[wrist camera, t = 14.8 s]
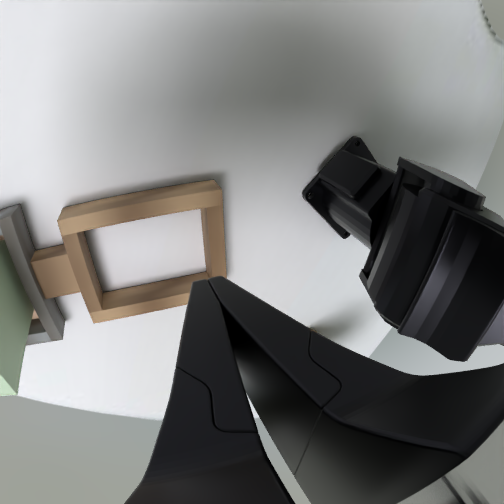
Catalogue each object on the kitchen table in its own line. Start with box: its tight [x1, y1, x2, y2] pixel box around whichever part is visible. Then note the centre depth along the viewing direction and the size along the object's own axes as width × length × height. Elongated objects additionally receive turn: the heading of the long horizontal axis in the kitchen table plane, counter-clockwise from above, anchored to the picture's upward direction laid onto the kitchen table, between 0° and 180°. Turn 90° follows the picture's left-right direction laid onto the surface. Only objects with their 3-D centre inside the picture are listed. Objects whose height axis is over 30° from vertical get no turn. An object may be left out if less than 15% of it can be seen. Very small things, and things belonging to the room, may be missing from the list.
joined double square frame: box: [0, 180, 227, 345], centre depth 18 cm, size 21×10×2 cm, turn 89°
